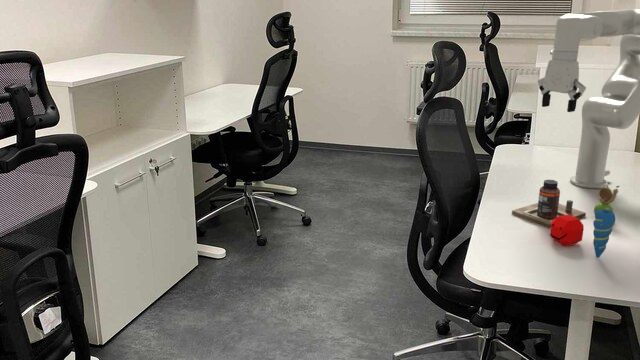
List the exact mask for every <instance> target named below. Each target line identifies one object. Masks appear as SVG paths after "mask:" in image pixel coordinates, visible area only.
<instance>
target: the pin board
mask: <svg viewBox="0 0 640 360" xmlns="http://www.w3.org/2000/svg"><path fill="white" fill-rule="evenodd" d="M573 203H574V201H573V200H572V199H571V200H570V199H567V200H566V204H562V203H559V205H558V213H557V217H558V216H563V215H568V214H569V215H571V216H573V217H575V218H578V219H579V220H580V219H582V218H585V217H586V216H587V213H586V212H584V211H582V210H579V209H576V208H574V207H573ZM537 208H538V202H535V203H532V204H530V205H526V206H523V207H519V208H516V209H512V210H511V215H513V216H516V217H518V218H520V219H521V218H522V219H524V220H527V221H529V222H531V223H535V224H536V225H540V226H543V227H545V228H547V229H551V223H552V220H554V219H555V218H553V219H545V218H542V217H539V216H538V215H537ZM557 217H556V218H557Z"/></svg>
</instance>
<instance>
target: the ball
mask: <svg viewBox="0 0 640 360" xmlns="http://www.w3.org/2000/svg"><path fill="white" fill-rule="evenodd" d="M584 226H585V225H584V224H583V222H582V221H581V220H580V218H579V219H578V218H575V217H573V216H571V215H569V214H568V215H563V216H558V217H557V218H555V219H554V220H552V223H551V228H550V232H549V236H550V237H551V239H552V240H553V241H554V242H555V243H557V244H559V245H561V246H563V247H568V246H573V245H577V244H578V243H579V242H582V240H583V235H584V230H585V229H584Z"/></svg>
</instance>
